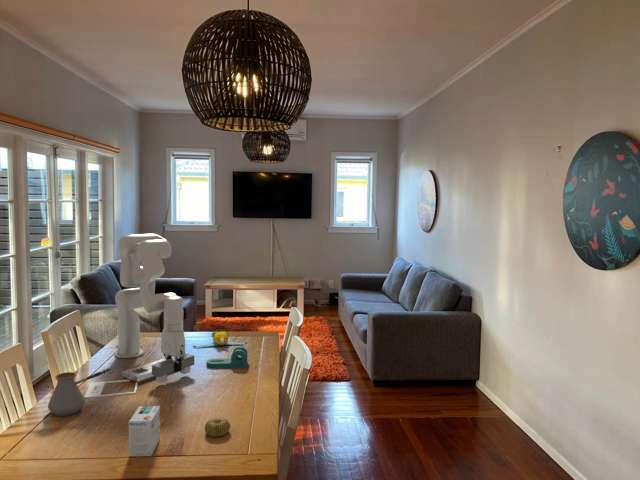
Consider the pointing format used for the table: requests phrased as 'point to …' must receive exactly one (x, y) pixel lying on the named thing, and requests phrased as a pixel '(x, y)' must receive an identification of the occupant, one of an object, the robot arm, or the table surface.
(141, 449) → the light bulb box
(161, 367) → the grey bar
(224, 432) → the sculpture
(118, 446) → the table surface
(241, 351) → the bracket
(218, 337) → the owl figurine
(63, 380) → the coffee pot
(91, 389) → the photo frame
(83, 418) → the table surface
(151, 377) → the mounting plate
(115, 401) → the table surface
